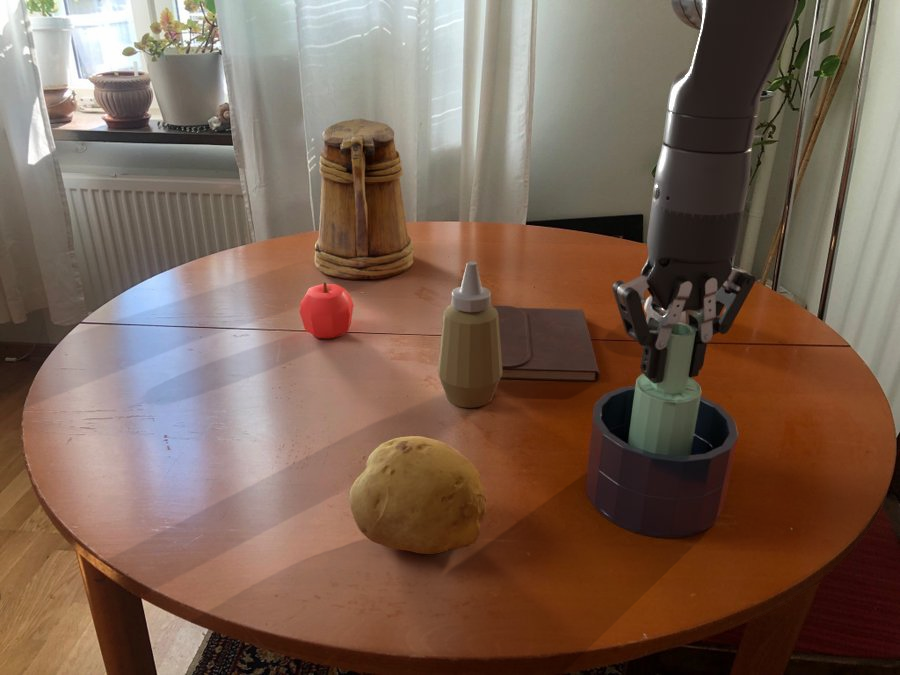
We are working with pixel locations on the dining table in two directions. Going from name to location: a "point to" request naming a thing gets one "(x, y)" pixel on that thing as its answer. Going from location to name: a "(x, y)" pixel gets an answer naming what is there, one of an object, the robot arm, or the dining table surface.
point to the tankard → (361, 203)
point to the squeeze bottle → (470, 344)
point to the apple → (326, 310)
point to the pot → (659, 471)
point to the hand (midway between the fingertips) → (670, 375)
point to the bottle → (668, 401)
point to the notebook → (546, 344)
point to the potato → (418, 497)
